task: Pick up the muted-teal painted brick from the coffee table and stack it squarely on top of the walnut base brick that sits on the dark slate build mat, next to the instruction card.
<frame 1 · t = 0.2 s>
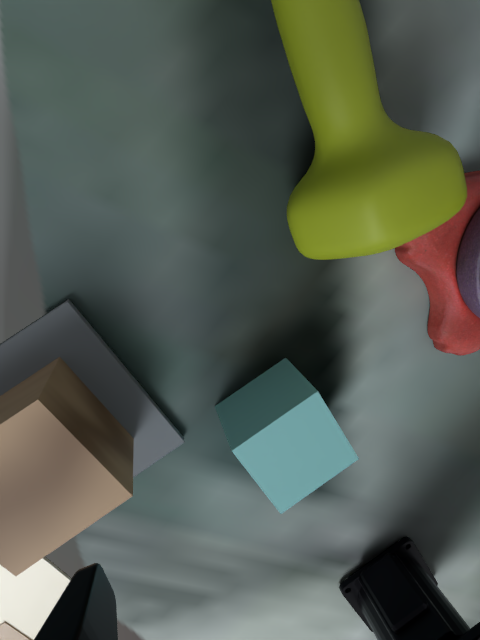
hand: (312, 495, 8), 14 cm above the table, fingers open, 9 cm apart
walnut brick: (49, 433, 20), resting on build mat
teal brick: (270, 410, 24), on the table
stacking bear: (474, 251, 24), on the table
dumbbell: (291, 76, 19), on the table
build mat: (51, 427, 21), on the table
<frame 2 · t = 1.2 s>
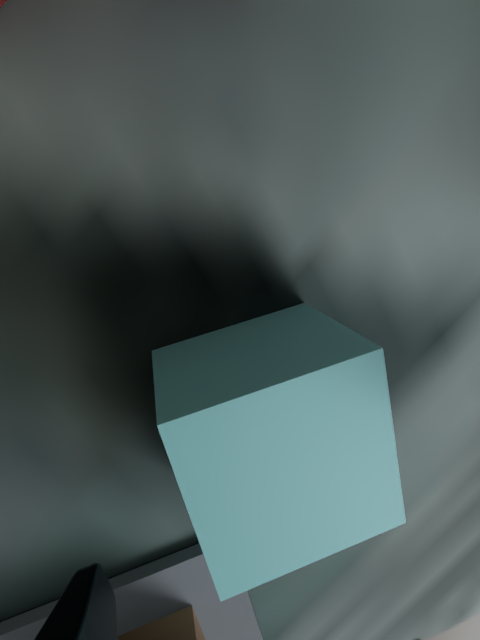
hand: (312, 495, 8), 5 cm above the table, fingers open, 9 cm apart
teal brick: (247, 393, 13), on the table
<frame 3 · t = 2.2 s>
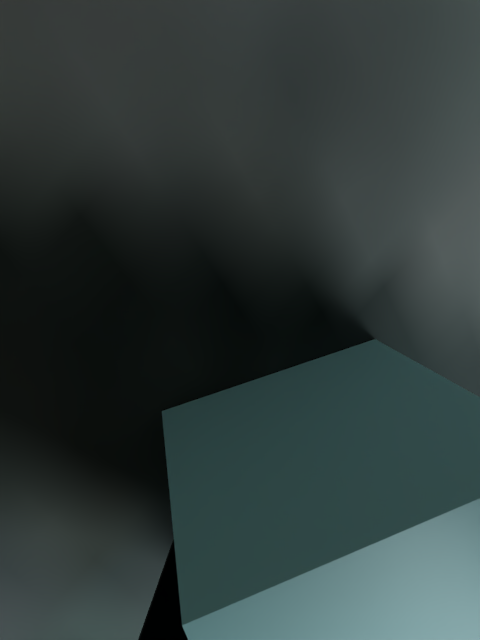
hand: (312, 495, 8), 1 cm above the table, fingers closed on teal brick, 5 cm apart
teal brick: (294, 465, 9), on the table, touching gripper
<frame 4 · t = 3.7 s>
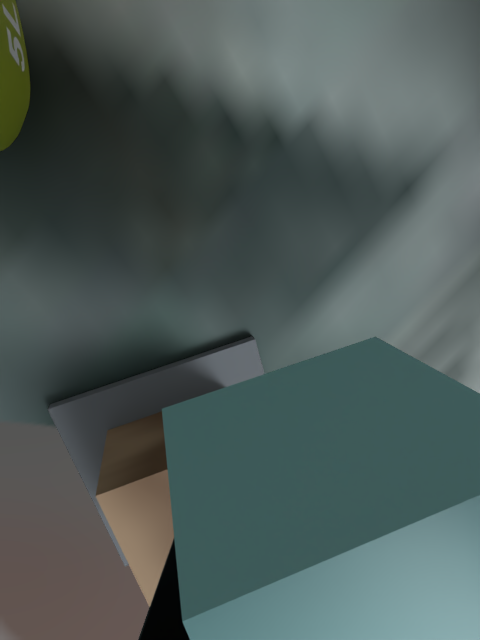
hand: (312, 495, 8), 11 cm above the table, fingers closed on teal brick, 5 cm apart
walnut brick: (187, 458, 20), resting on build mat
teal brick: (295, 463, 9), point 10 cm above the table, touching gripper
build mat: (186, 452, 20), on the table
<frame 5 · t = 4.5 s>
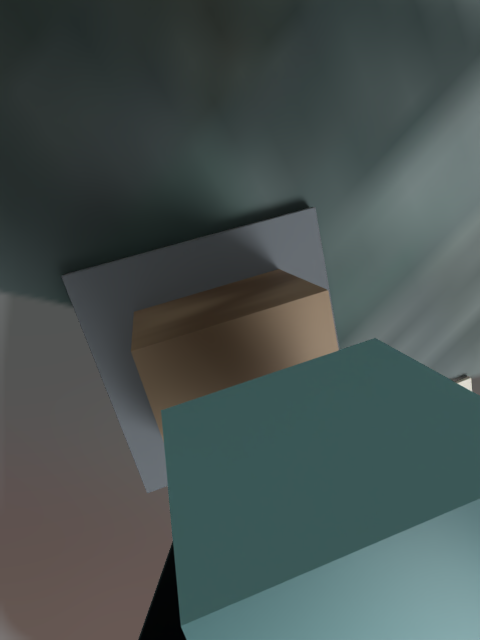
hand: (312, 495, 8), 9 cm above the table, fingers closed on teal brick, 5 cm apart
walnut brick: (227, 357, 16), resting on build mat
teal brick: (294, 464, 9), point 8 cm above the table, touching gripper
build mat: (224, 353, 17), on the table
when the fingers open (7 cm above the table, at t = 5.2 s): teal brick stays where it is, resting on walnut brick.
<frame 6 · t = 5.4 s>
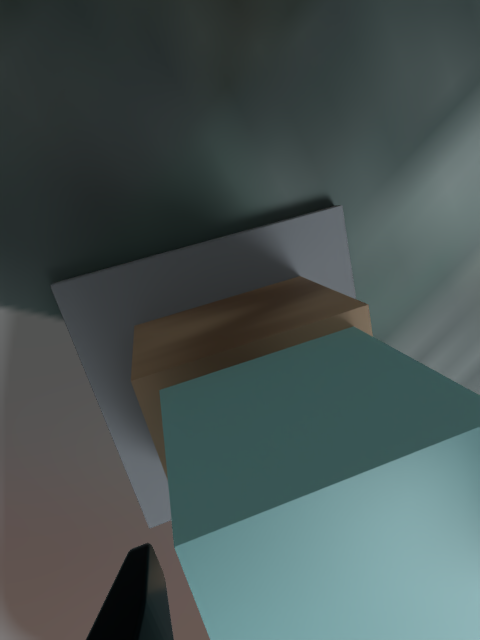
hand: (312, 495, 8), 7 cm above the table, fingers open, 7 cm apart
walnut brick: (240, 376, 14), resting on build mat, touching teal brick
teal brick: (281, 442, 10), point 5 cm above the table, touching walnut brick
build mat: (237, 370, 15), on the table
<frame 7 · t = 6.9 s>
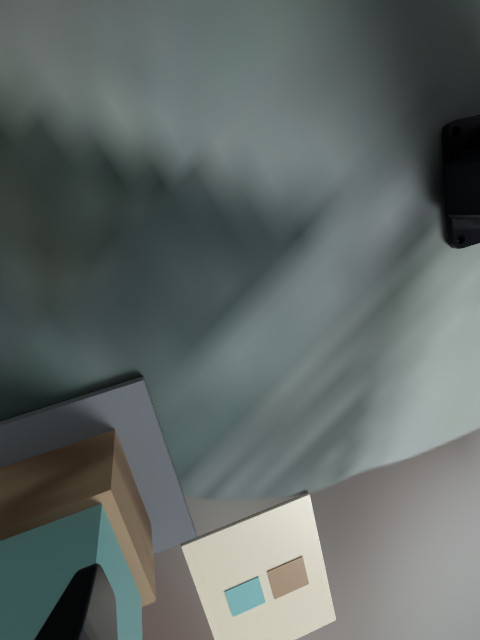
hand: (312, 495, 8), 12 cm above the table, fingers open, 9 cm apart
walnut brick: (74, 500, 19), resting on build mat, touching teal brick
teal brick: (58, 577, 15), point 5 cm above the table, touching walnut brick
instruction card: (265, 584, 25), on the table
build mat: (75, 493, 20), on the table
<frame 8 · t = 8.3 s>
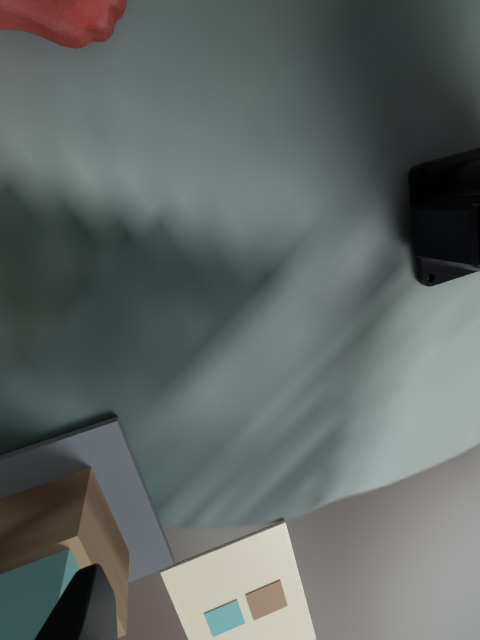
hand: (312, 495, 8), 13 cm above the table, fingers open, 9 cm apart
walnut brick: (54, 532, 20), resting on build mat, touching teal brick
teal brick: (31, 615, 16), point 5 cm above the table, touching walnut brick
instruction card: (244, 606, 26), on the table
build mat: (56, 525, 21), on the table
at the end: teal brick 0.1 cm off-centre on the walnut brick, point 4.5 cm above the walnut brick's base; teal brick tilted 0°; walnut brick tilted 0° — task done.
